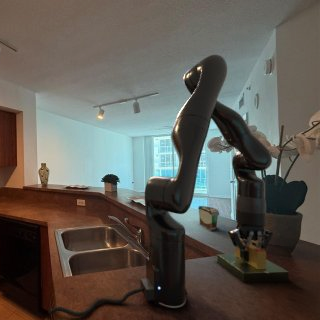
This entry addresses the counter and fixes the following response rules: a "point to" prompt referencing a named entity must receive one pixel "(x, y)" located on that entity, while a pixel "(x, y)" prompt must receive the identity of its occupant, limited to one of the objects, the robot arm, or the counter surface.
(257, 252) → the yellow rectangular block
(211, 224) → the food container
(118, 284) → the counter surface
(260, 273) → the holder base
